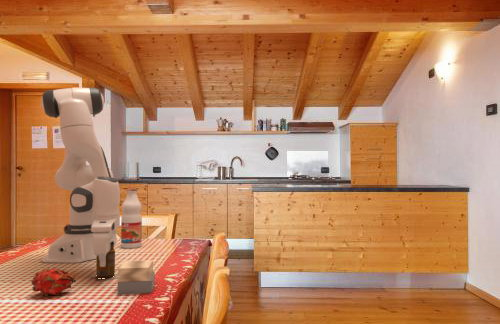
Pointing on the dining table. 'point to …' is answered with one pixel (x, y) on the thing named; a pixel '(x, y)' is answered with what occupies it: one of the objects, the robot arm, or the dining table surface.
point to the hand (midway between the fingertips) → (105, 262)
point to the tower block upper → (135, 271)
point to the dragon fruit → (52, 281)
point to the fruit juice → (131, 221)
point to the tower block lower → (136, 286)
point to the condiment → (109, 269)
